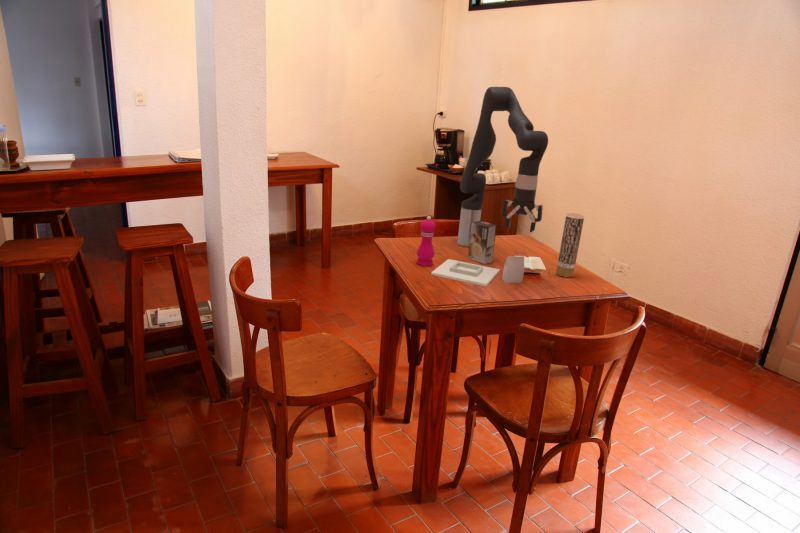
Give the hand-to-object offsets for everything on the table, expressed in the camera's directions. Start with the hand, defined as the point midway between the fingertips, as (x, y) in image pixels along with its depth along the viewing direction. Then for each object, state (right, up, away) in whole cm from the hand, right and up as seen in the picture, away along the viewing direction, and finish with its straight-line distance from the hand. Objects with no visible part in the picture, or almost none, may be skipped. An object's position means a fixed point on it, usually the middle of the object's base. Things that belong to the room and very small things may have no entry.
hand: (519, 229), depth 201 cm
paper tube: (+22, -17, +18) cm, 33 cm away
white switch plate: (-19, -16, +11) cm, 27 cm away
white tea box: (-1, -20, +7) cm, 21 cm away
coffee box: (-11, -11, +29) cm, 33 cm away
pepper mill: (-35, -13, +19) cm, 41 cm away
